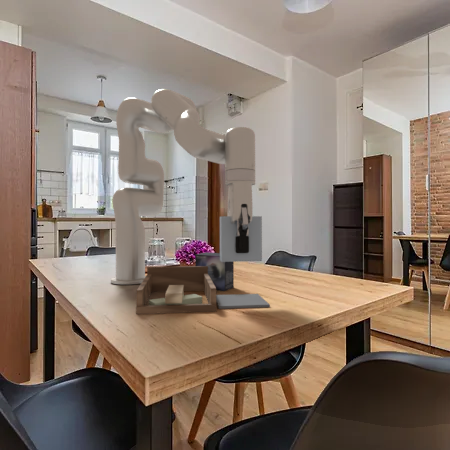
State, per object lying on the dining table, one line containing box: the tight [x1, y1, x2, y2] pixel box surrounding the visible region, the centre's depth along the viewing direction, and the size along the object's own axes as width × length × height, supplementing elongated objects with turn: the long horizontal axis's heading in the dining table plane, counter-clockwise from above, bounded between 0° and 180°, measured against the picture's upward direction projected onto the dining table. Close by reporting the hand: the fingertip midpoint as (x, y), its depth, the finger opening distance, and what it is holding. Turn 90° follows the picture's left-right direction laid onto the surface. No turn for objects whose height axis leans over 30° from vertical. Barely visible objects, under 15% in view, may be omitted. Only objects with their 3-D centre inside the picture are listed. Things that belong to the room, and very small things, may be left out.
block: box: [219, 215, 263, 263], centre depth 81 cm, size 4×10×11 cm, turn 98°
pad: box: [216, 293, 271, 310], centre depth 81 cm, size 12×12×1 cm
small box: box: [194, 252, 235, 292], centre depth 99 cm, size 11×6×10 cm, turn 62°
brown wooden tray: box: [135, 265, 217, 315], centre depth 83 cm, size 25×17×7 cm
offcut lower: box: [148, 293, 203, 305], centre depth 77 cm, size 4×12×2 cm, turn 123°
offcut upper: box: [164, 285, 185, 304], centre depth 77 cm, size 4×10×2 cm, turn 5°
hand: (240, 251), depth 81 cm, fingers closed on block, 3 cm apart
